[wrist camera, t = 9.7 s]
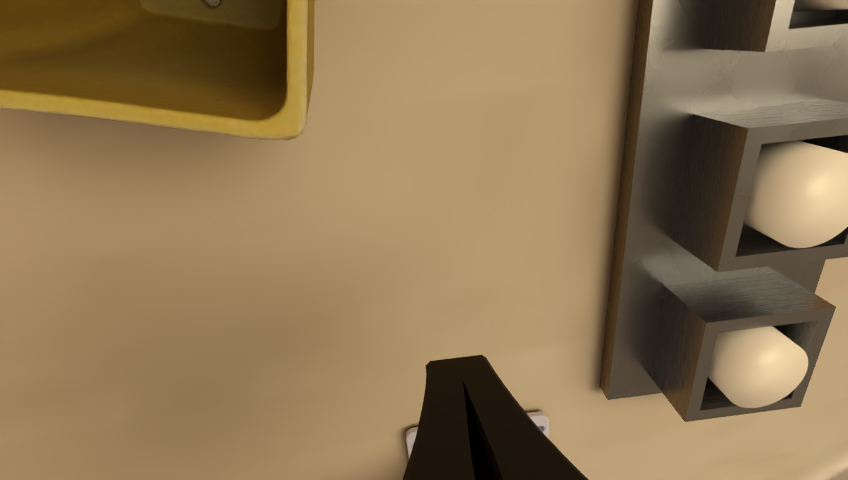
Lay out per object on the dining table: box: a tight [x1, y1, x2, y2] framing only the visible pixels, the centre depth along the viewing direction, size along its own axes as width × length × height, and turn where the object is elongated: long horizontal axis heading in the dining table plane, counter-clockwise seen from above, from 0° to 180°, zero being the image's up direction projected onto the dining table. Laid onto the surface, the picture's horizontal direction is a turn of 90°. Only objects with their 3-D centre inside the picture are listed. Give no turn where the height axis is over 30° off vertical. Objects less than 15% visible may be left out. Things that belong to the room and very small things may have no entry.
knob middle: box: [743, 140, 848, 248], centre depth 18 cm, size 4×4×4 cm
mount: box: [600, 0, 848, 422], centre depth 18 cm, size 24×10×4 cm, turn 5°
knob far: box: [708, 326, 808, 408], centre depth 21 cm, size 4×4×4 cm
